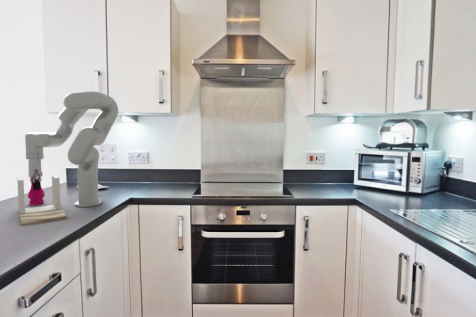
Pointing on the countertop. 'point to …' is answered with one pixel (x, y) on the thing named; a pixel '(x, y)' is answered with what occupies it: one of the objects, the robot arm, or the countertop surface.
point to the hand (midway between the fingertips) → (36, 188)
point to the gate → (42, 208)
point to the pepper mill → (36, 194)
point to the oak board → (42, 216)
